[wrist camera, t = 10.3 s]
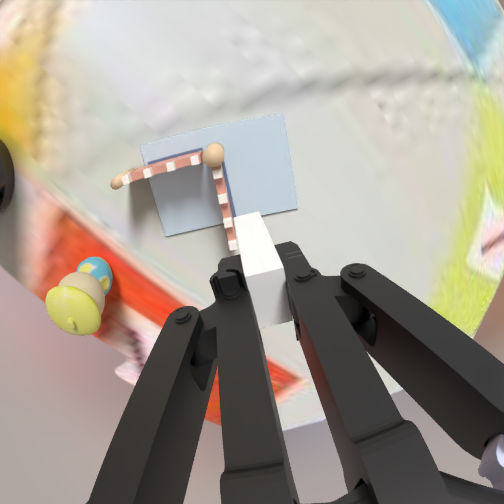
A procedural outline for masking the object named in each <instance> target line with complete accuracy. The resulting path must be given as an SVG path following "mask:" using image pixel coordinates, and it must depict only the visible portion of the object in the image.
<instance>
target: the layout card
mask: <svg viewBox="0 0 504 504" xmlns="http://www.w3.org/2000/svg"><path fill="white" fill-rule="evenodd" d="M214 142H217V143H220V144H221V145H222V146H223V148H224V161H223V163H222V168H223V173H224V178H225V183H226V188H227V193H228V197H229V202H230V207H231V212H232V216H233V221H234V217H237V216H242V215H246V214H250V213H254V212H258V211H259V213H260V215H266V214H271V213H276V212H281V211H286V210H291V209H297V208H298V203H297V196H296V189H295V182H294V175H293V168H292V162H291V155H290V149H289V143H288V137H287V131H286V125H285V119H284V114H283V113H282V114H275V115H268V116H262V117H256V118H250V119H244V120H239V121H234V122H229V123H224V124H219V125H215V126H210V127H206V128H202V129H197V130H193V131H189V132H185V133H182V134H178V135H174V136H171V137H167V138H164V139H160V140H157V141H153V142H150V143H147V144H144V145H141V146H140V148H141V152H142V156H143V160H144V164H145V166H147V165H150V164H154V163H157V162H160V161H164V160H168V159H171V158H175V157H179V156H182V155H186V154H190V153H194V152H198V151H203V153H204V151H205V150H206V148H207V147H208V146H209V145H210V144H211V143H214ZM212 169H213V168H212V167H208V166H207V165H206V164H205V163H204V162H203V161H202V162H201V163H200V164H197V165H193V166H192V165H189V166H185V167H181V168H177V169H176V170H173V171H170V172H168V171H166V172H162V173H159V174H155V175H153V176H152V177H148V178H149V182H150V186H151V189H152V193H153V196H154V200H155V203H156V206H157V210H158V213H159V216H160V219H161V223H162V226H163V229H164V232H165V235H166V236H170V235H174V234H178V233H183V232H187V231H192V230H196V229H200V228H205V227H209V226H214V225H218V224H223V223H224V222H223V215H222V211H221V206H220V204H219V200H218V193H217V188H216V183H215V179H214V177H213V173H212V171H213V170H212Z"/></svg>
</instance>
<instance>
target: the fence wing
mask: <svg viewBox="0 0 504 504" xmlns="http://www.w3.org/2000/svg"><path fill="white" fill-rule="evenodd" d="M212 170H213V171H212V173H213V177H214V179H215V183H216V188H217V193H218V200H219V204H220V206H221V211H222V215H223V222H224V227H225V229H226V233H227V237H228V244H229V249H230V251H231V250H236V249H238V247H237V238H236V230H235V226H234V221H233V216H232V212H231V207H230V202H229V197H228V193H227V188H226V183H225V178H224V173H223V168H222V164H221V165H220V166H218V167H214V168H213V169H212Z"/></svg>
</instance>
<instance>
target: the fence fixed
mask: <svg viewBox="0 0 504 504" xmlns="http://www.w3.org/2000/svg"><path fill="white" fill-rule="evenodd" d="M202 161H203V162H204V163H205V164H206V165H207V166H208V167H212V168H214V167H218V166H220V165H221V164H222V163H223V161H224V148H223V146H222V145H221V144H220V143H217V142H214V143H211V144H210V145H209V146H208V147H207V148H206V150H205V151H204V153H203V151H198V152H194V153H190V154H186V155H182V156H179V157H175V158H171V159H168V160H164V161H160V162H157V163H154V164H150V165H147V166H144V167H140V168H137V169H135V168H132V169H130V170H128V171H126V172H124V173H122V174H121V175H119V176H117V177H115V178H114V179H112V180H111V183H110V185H111V187H112V188H113V189H115V190H117V189H119V188H120V187H122V186H123V185H125V184H129V183H131V182H132V181H135V180H138V179H142V178H148V177H152V176H153V175H155V174H159V173H162V172H166V171H168V172H170V171H173V170H176V169H177V168H181V167H185V166H189V165H192V166H193V165H197V164H200V163H201V162H202Z"/></svg>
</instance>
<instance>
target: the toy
mask: <svg viewBox="0 0 504 504" xmlns="http://www.w3.org/2000/svg"><path fill="white" fill-rule="evenodd" d="M112 281H113V276H112V271H111V269H110V266H109V264H108V263H107V262H106V261H105V260H104V259H103V258H100V257H89V258H87V259H85V260H84V261H83V262H81V263H80V264H79V266H78V268H77V272H74V273H71V274H69V275H67V276H65V277H64V278H63V279H62V280H61V282H60V283H59V285H58V286H57V287H54V288H52V289H51V290H50V291H49V292H48V293H47V296H46V309H47V312H48V314H49V316H50V318H51V319H52V321H53V322H54V323H55V324H56V325H57V326H58V327H59V328H60V329H62V330H64V331H65V332H68V333H70V334H74V335H79V336H84V335H90V334H92V333H94V332H96V331H97V330H98V329H99V327H100V324H101V314H102V312H103V310H104V306H105V296H106V295H107V293H108V292H109V290H110V288H111V286H112Z"/></svg>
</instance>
